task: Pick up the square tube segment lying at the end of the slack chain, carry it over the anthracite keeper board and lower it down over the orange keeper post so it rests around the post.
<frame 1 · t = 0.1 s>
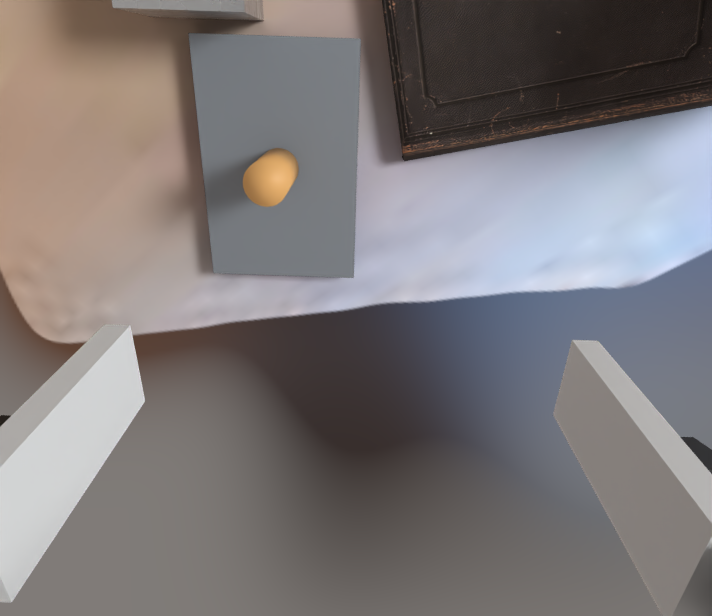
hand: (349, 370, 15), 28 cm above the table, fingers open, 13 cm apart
keeper: (282, 164, 39), on the table
hardcover book: (545, 16, 35), on the table
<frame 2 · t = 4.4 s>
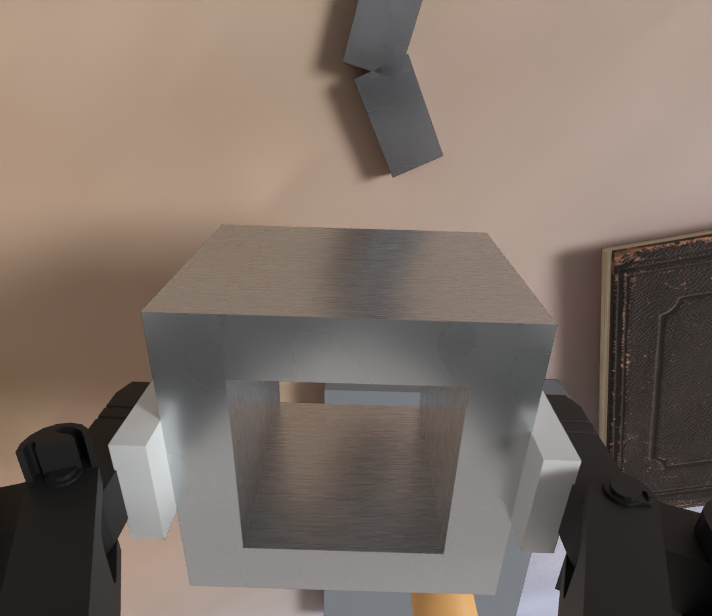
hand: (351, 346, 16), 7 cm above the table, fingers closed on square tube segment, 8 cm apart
square tube segment: (351, 343, 17), point 7 cm above the table, touching gripper
keeper: (427, 506, 29), on the table
chain tail: (393, 15, 19), on the table
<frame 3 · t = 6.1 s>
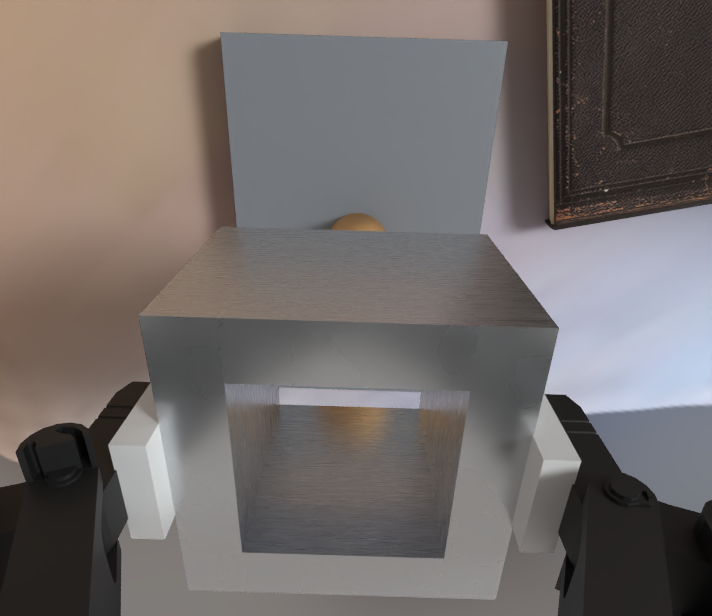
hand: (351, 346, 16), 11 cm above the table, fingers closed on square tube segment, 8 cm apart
square tube segment: (350, 346, 16), point 11 cm above the table, touching gripper
keeper: (358, 232, 26), on the table
when the fingers open (2 cm above the table, at t = 8.2 s): square tube segment stays where it is, resting on keeper.
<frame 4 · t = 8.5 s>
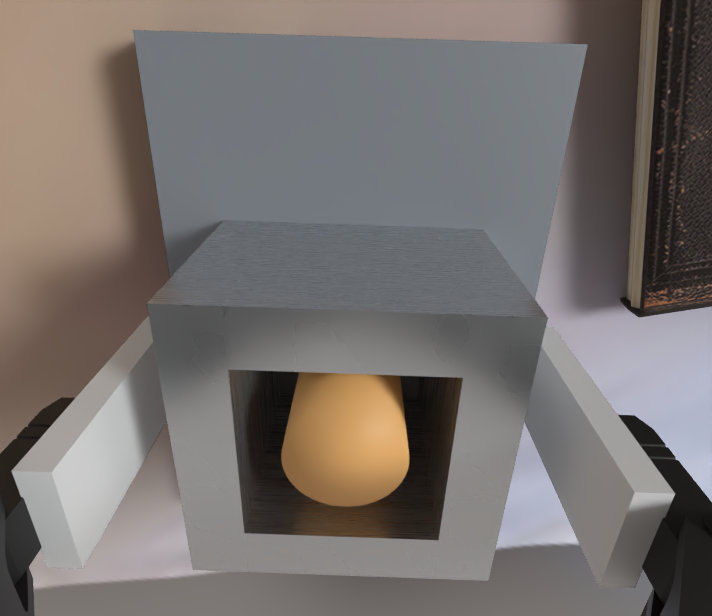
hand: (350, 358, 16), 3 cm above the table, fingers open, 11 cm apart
square tube segment: (350, 337, 17), point 1 cm above the table, touching keeper
keeper: (352, 315, 18), on the table
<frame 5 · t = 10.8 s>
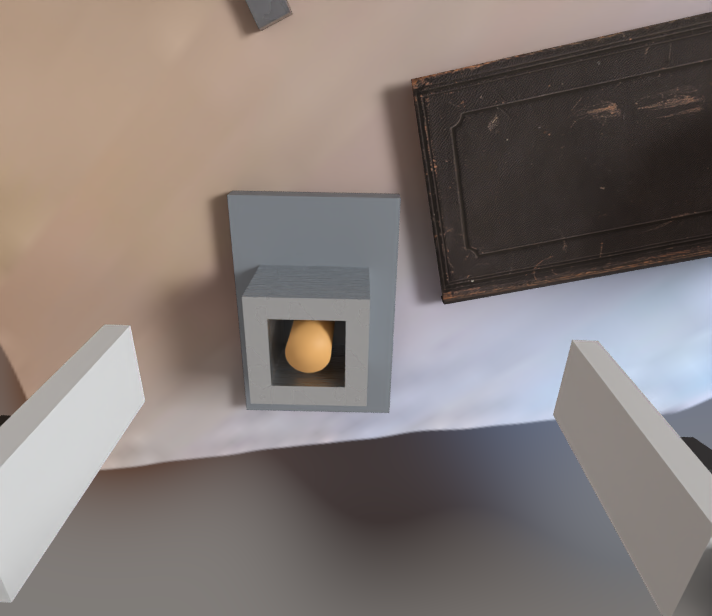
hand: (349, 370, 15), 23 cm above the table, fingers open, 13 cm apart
square tube segment: (315, 315, 38), point 1 cm above the table, touching keeper
keeper: (317, 306, 39), on the table
hardcover book: (585, 165, 35), on the table
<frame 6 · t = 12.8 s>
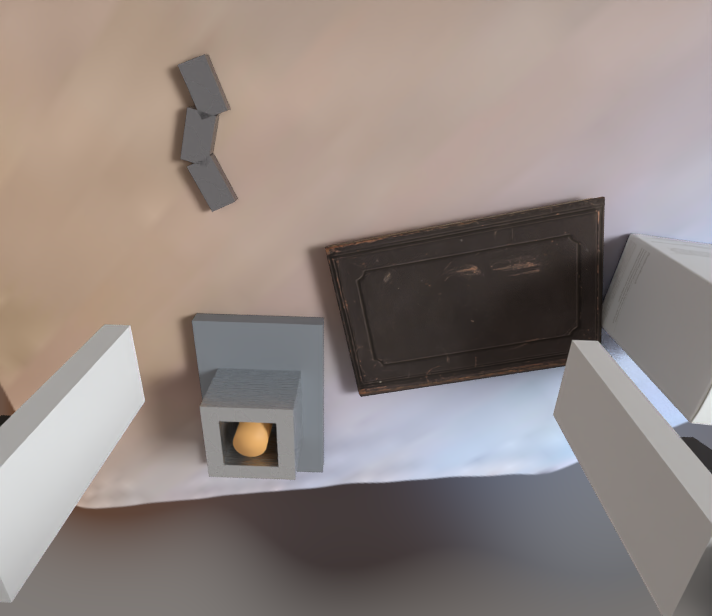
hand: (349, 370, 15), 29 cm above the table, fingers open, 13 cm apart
square tube segment: (262, 403, 49), point 1 cm above the table, touching keeper
keeper: (265, 393, 50), on the table
supplement box: (656, 284, 45), on the table
chain tail: (205, 136, 39), on the table
hardcover book: (465, 297, 46), on the table
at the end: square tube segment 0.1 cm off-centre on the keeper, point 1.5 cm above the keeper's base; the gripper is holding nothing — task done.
